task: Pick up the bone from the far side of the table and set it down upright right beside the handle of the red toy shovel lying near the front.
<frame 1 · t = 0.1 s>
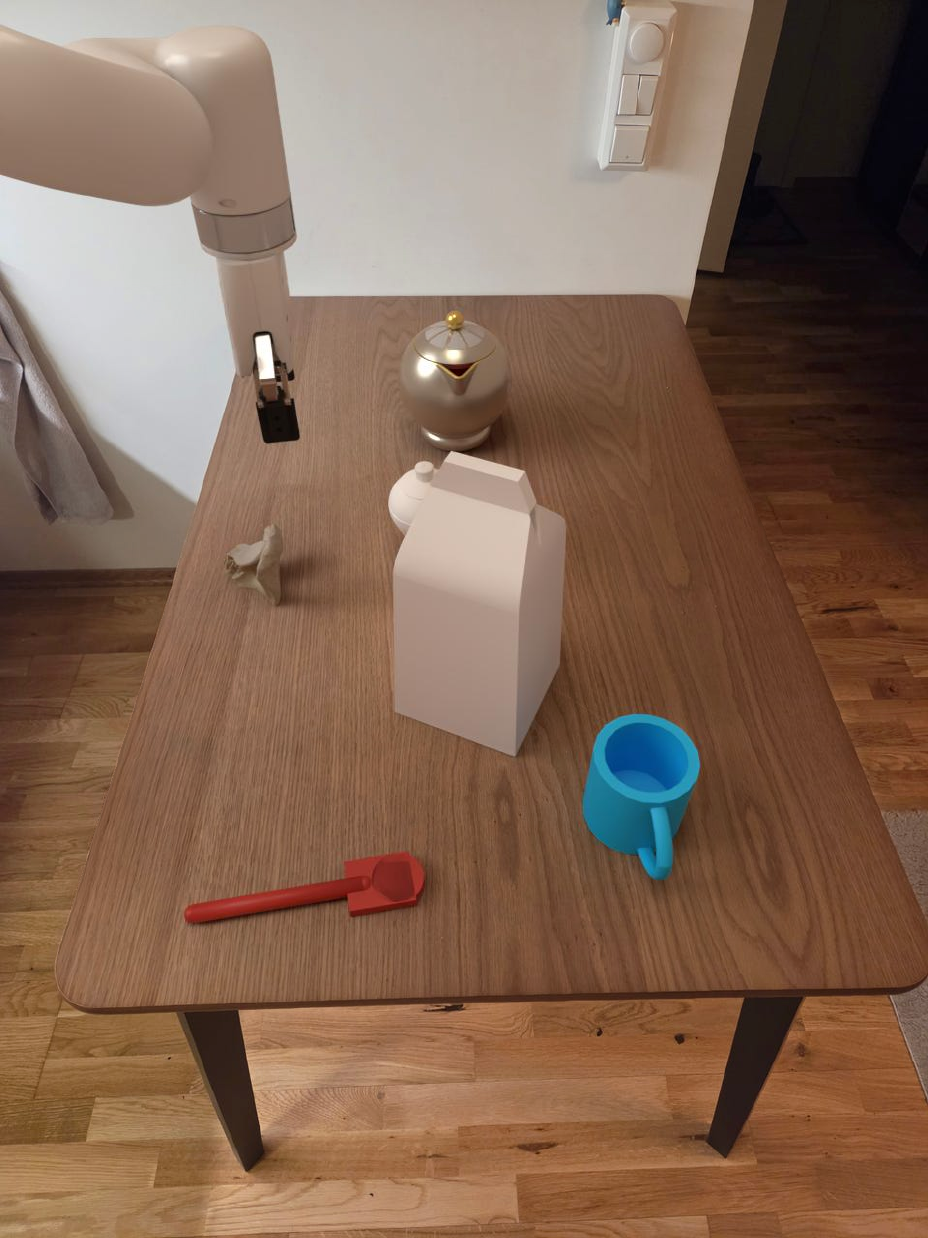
hand: (280, 409, 79), 19 cm above the table, tool pointing down, fingers open, 9 cm apart
red toy shovel: (296, 900, 67), on the table
milk: (478, 689, 81), on the table
teapot: (454, 427, 110), on the table
spinning top: (427, 556, 94), on the table
bone: (260, 583, 91), on the table
mug: (636, 832, 71), on the table
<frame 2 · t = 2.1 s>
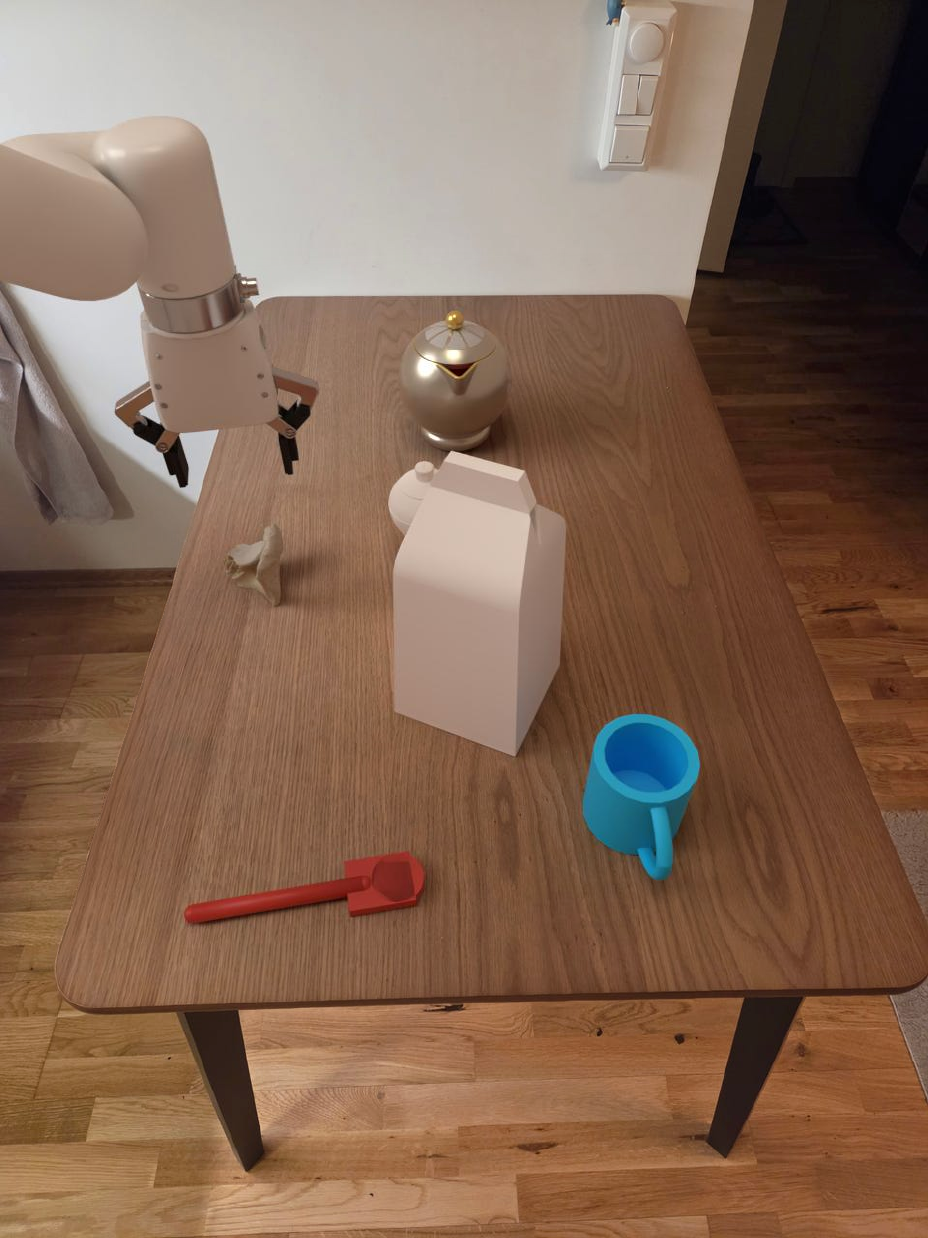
hand: (237, 471, 80), 14 cm above the table, tool pointing down, fingers open, 9 cm apart
nothing on the table moved.
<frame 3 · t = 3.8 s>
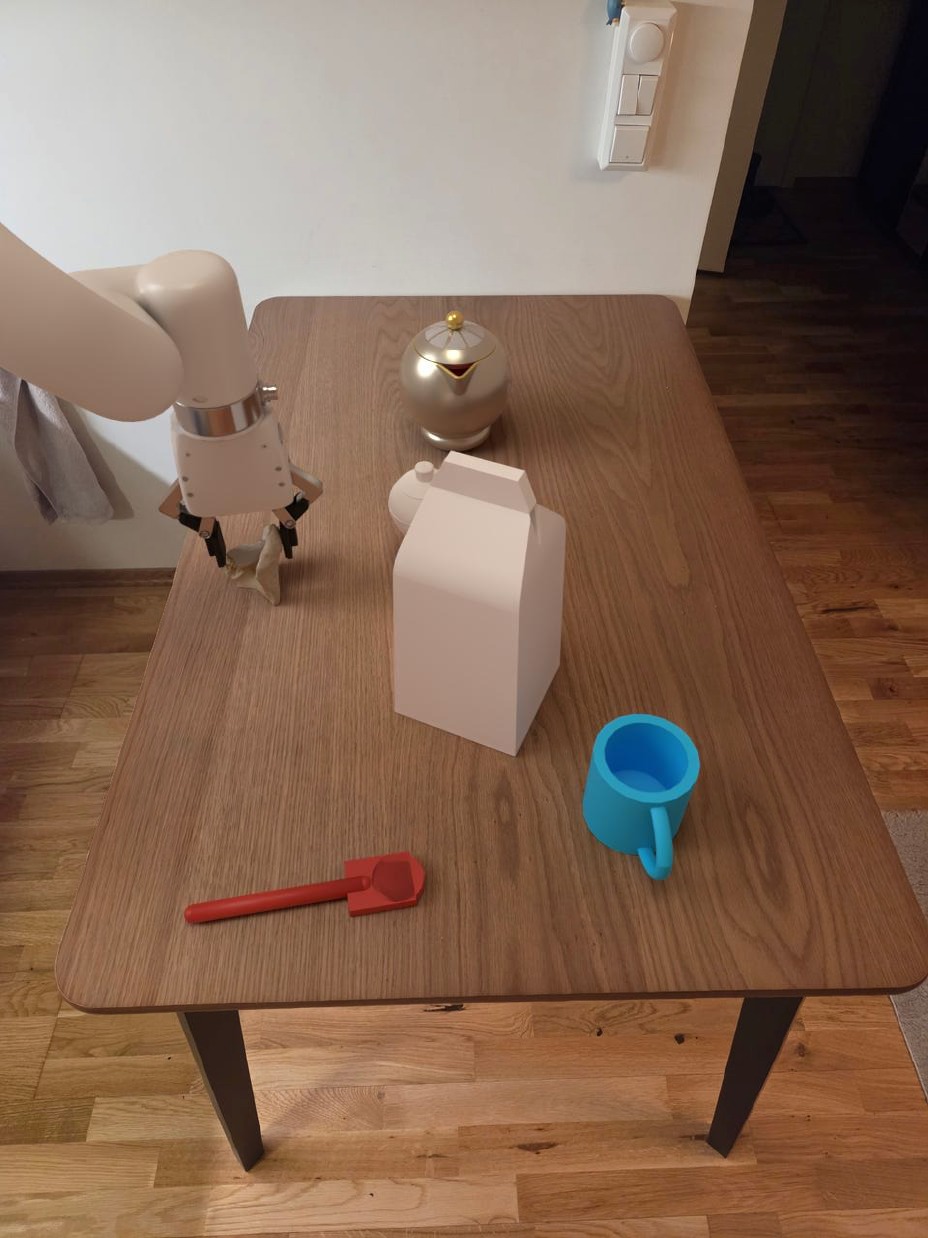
hand: (255, 552, 88), 4 cm above the table, tool pointing down, fingers closed on bone, 6 cm apart
bone: (260, 583, 91), on the table, touching gripper
everything else where it was.
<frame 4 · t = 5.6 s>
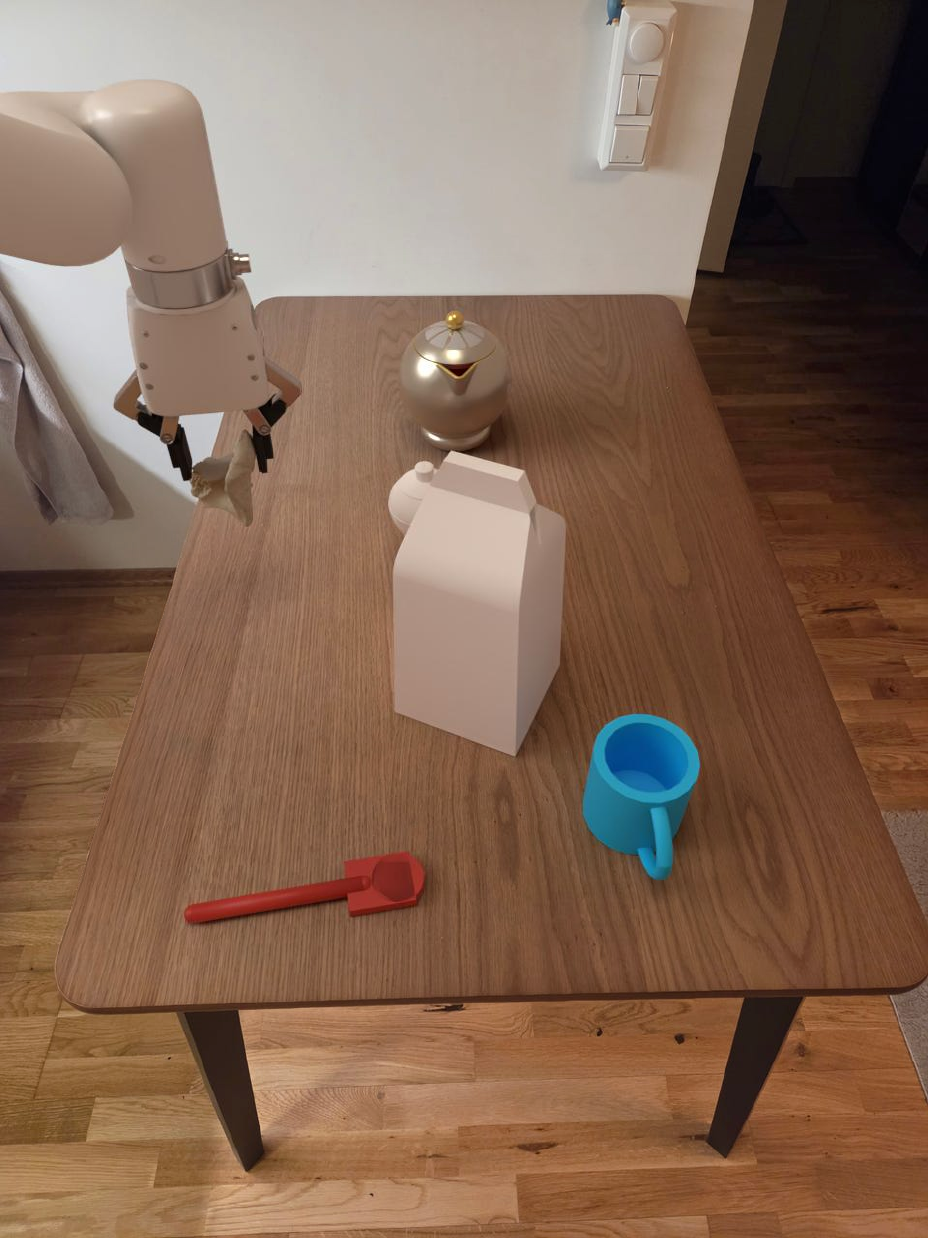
hand: (225, 466, 78), 16 cm above the table, tool pointing down, fingers closed on bone, 6 cm apart
bone: (231, 504, 81), point 12 cm above the table, touching gripper
everything else where it was.
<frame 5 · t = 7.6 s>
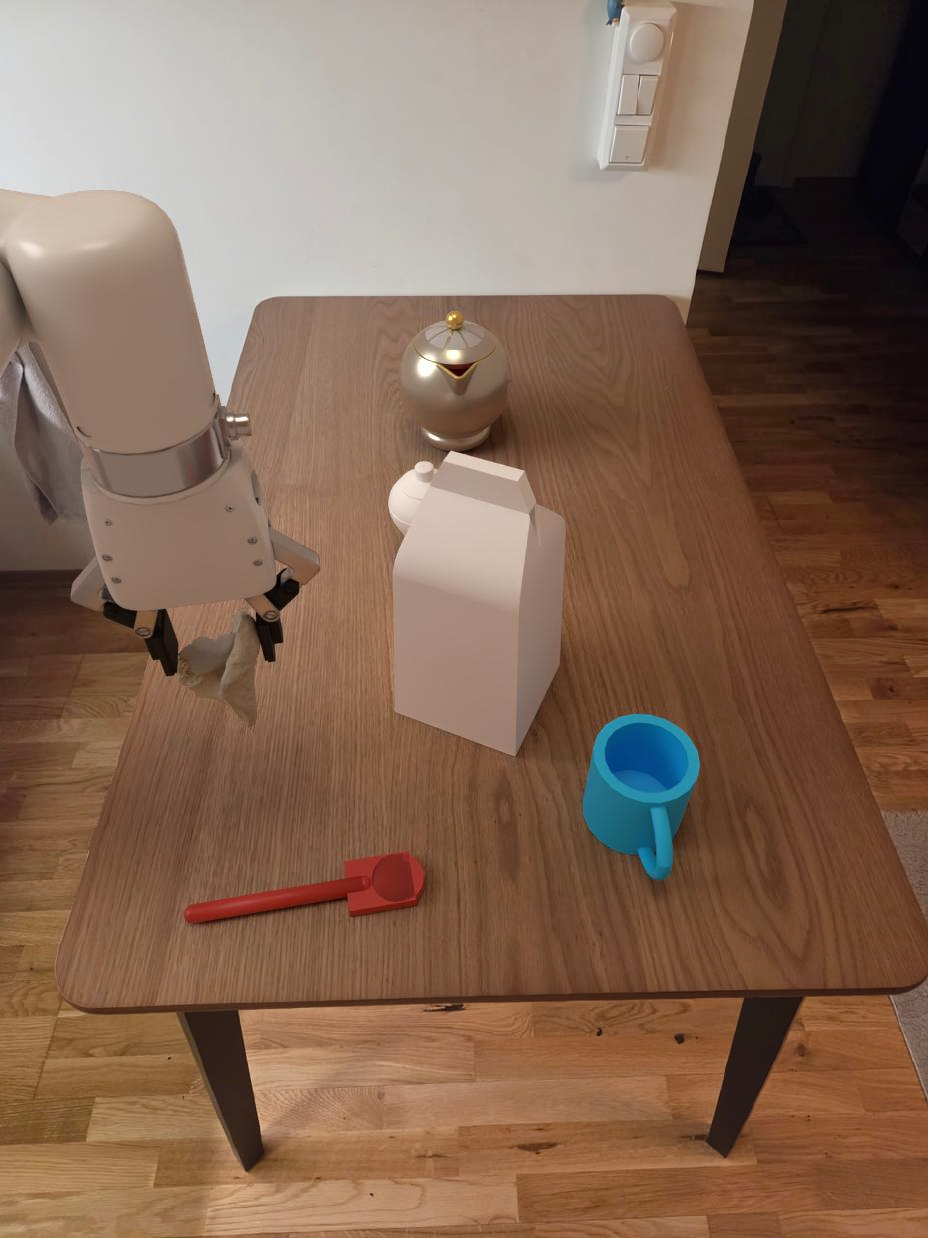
hand: (221, 652, 60), 18 cm above the table, tool pointing down, fingers closed on bone, 6 cm apart
bone: (229, 691, 63), point 14 cm above the table, touching gripper
everything else where it was.
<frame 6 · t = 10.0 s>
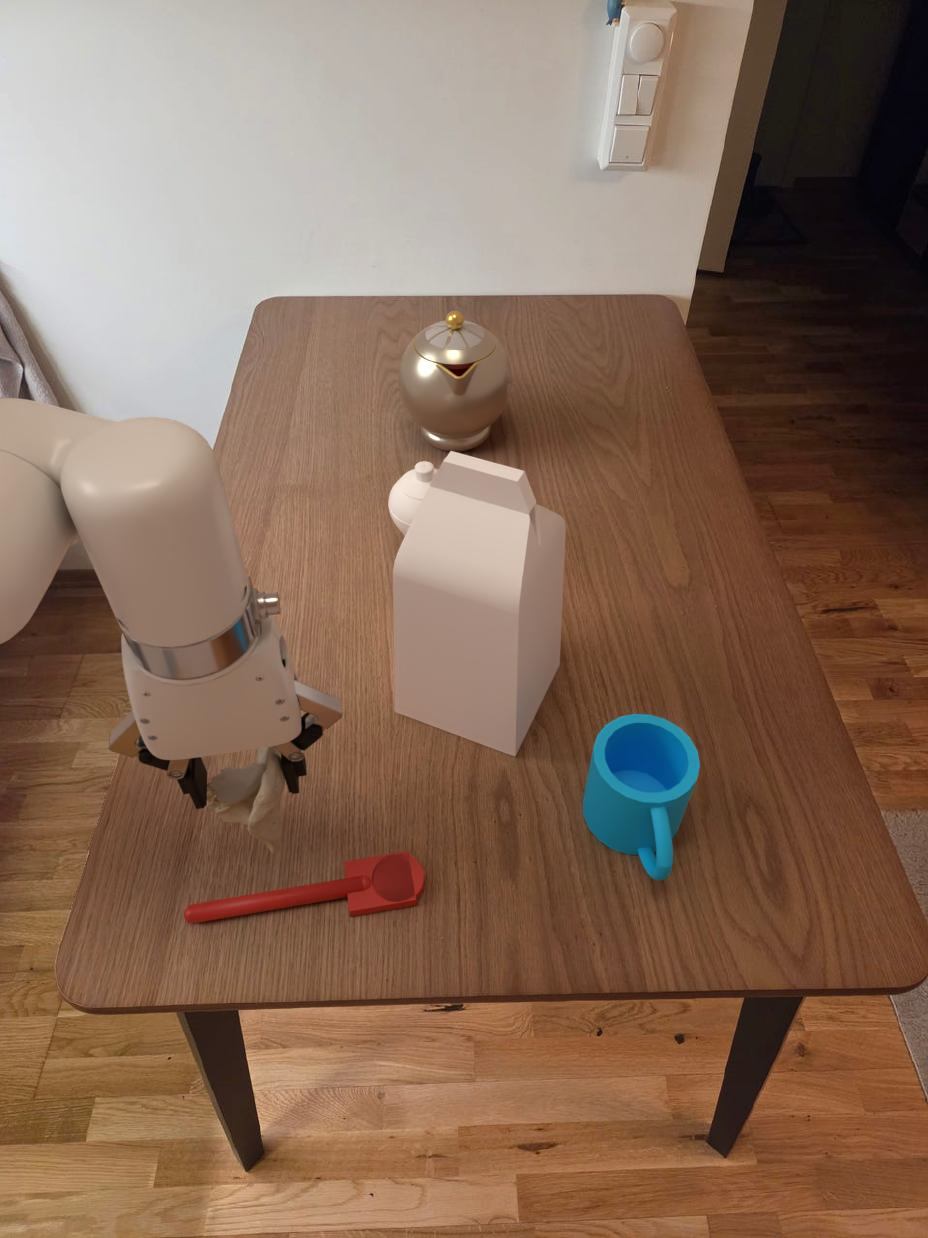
hand: (247, 783, 64), 9 cm above the table, tool pointing down, fingers closed on bone, 6 cm apart
bone: (254, 813, 67), point 5 cm above the table, touching gripper
everything else where it was.
when the fingers open (4 cm above the table, at t = 11.7 s): bone stays where it is, on the table.
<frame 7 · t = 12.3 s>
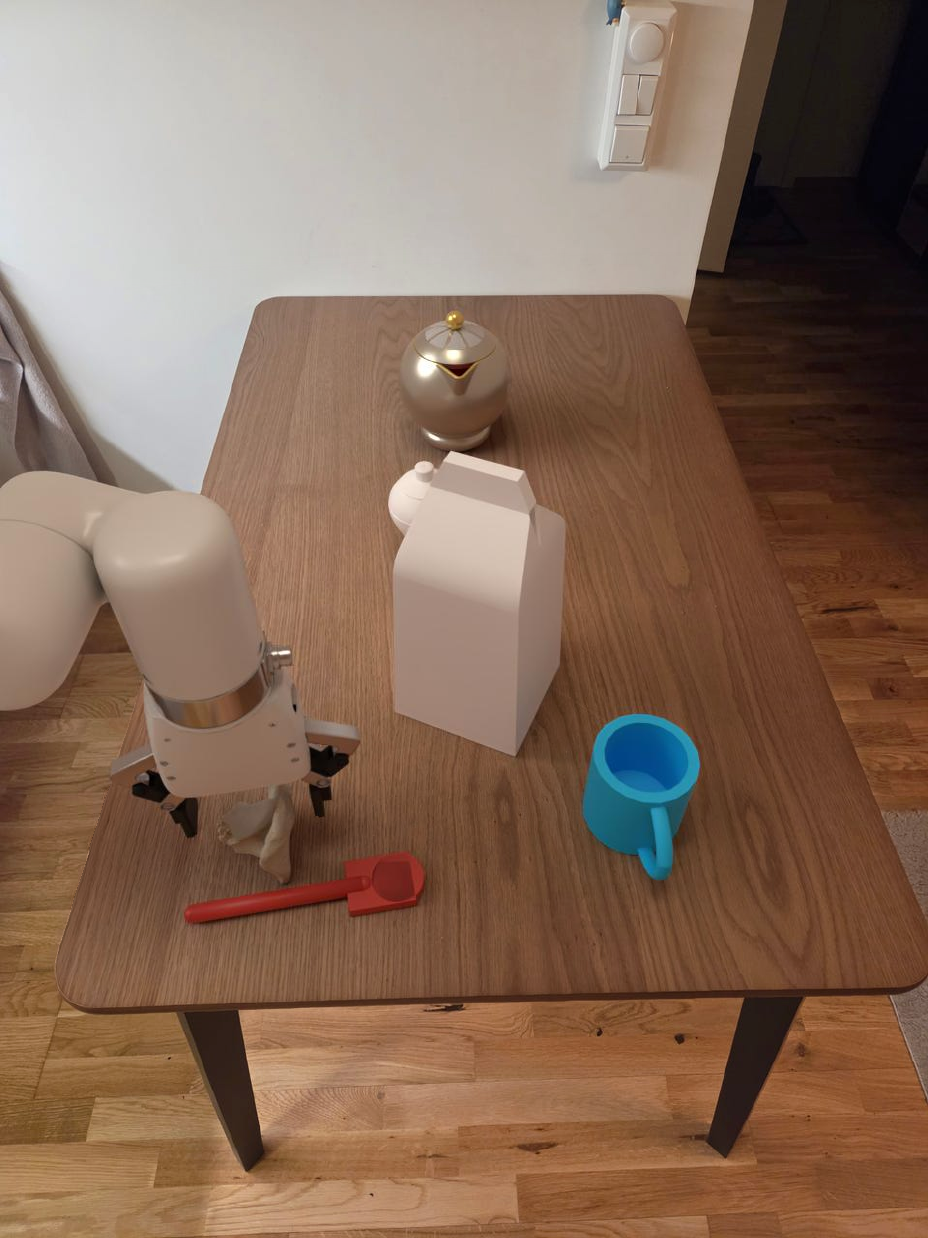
hand: (256, 811, 66), 5 cm above the table, tool pointing down, fingers open, 9 cm apart
bone: (264, 845, 70), on the table
everything else where it was.
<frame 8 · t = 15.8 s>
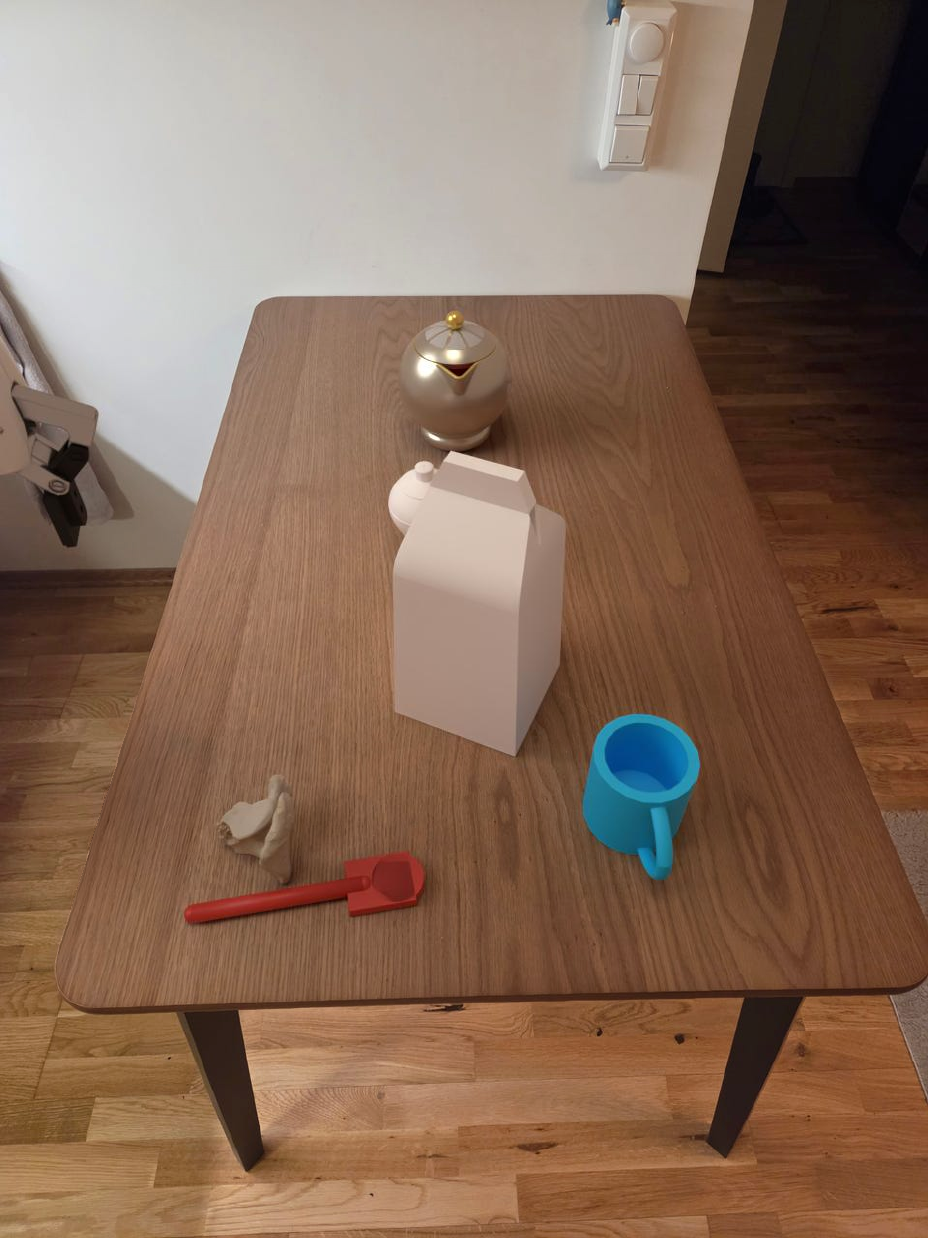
nothing on the table moved.
at the end: bone inside the target area on the table beside the red toy shovel (2.4 cm from its centre), on the table; bone tilted 0° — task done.
